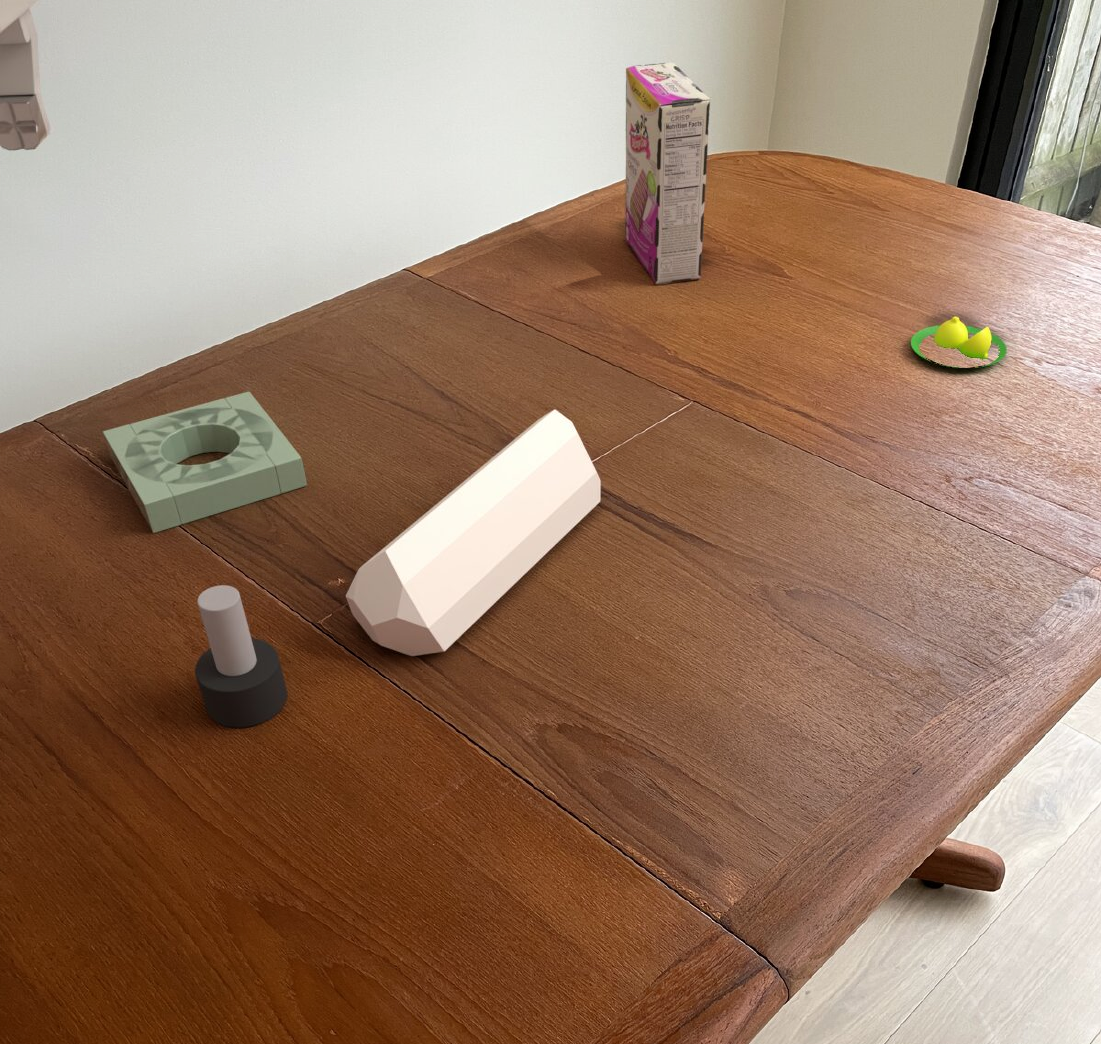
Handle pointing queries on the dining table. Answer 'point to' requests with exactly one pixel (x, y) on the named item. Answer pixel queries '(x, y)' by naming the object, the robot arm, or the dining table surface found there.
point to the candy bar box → (665, 171)
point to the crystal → (476, 541)
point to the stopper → (236, 664)
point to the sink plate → (213, 487)
